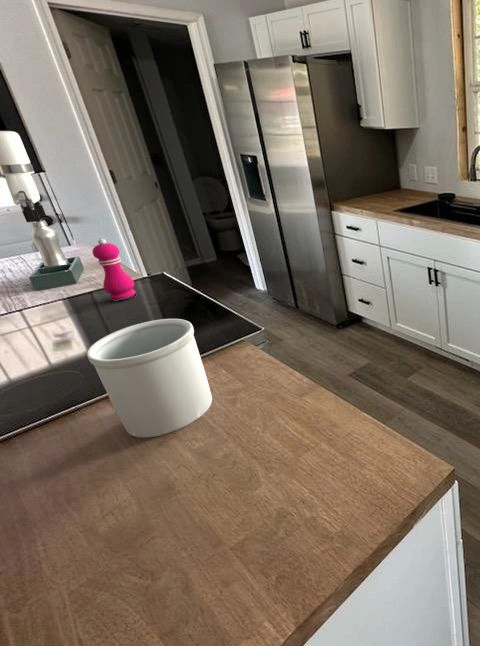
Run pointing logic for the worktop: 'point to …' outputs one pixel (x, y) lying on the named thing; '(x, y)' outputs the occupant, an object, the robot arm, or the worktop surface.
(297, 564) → the worktop surface
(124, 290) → the pepper mill
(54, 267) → the divided storage box
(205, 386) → the utensil holder
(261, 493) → the worktop surface
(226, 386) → the worktop surface
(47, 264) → the silver metal bottle
